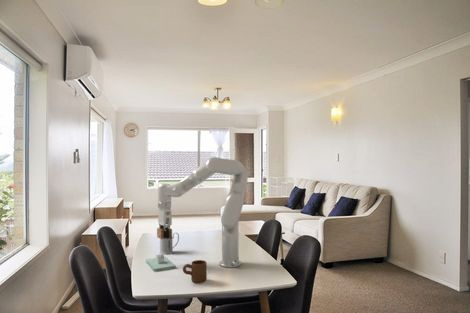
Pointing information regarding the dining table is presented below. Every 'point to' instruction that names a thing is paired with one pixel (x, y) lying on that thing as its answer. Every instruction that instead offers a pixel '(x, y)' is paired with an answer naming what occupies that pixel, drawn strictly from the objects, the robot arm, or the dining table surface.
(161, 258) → the white plaster cube
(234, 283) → the dining table surface
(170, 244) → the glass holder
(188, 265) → the mug
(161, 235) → the walnut collar
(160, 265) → the base board
